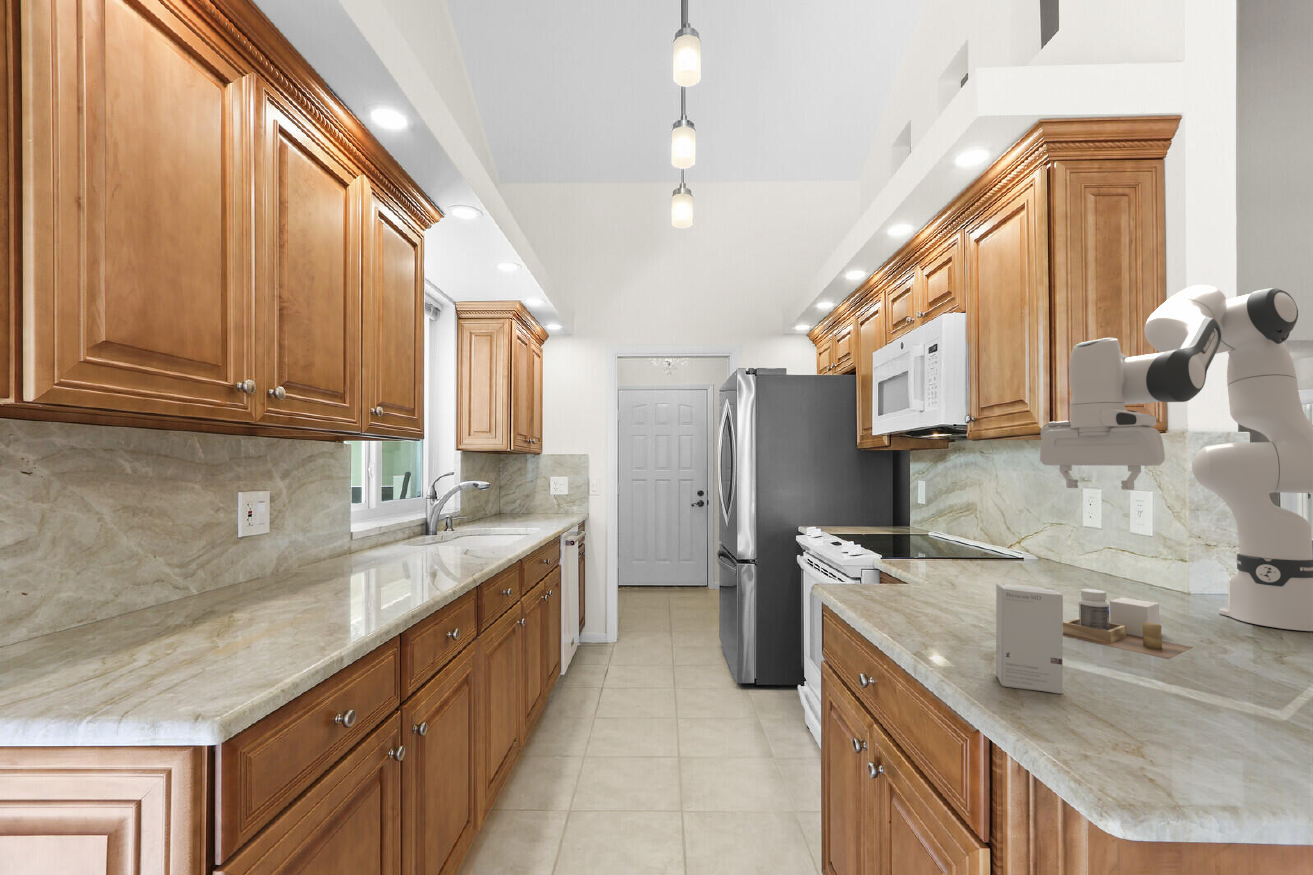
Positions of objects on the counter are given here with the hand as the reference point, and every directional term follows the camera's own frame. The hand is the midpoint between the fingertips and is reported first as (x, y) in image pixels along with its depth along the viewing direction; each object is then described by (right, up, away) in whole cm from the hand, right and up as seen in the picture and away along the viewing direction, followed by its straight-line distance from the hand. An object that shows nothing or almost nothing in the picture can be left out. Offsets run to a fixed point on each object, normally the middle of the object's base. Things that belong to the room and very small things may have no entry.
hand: (1099, 489), depth 118 cm
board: (-1, -29, -7) cm, 30 cm away
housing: (+6, -29, -1) cm, 30 cm away
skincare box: (-30, -28, -26) cm, 49 cm away
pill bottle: (-3, -28, -3) cm, 28 cm away
